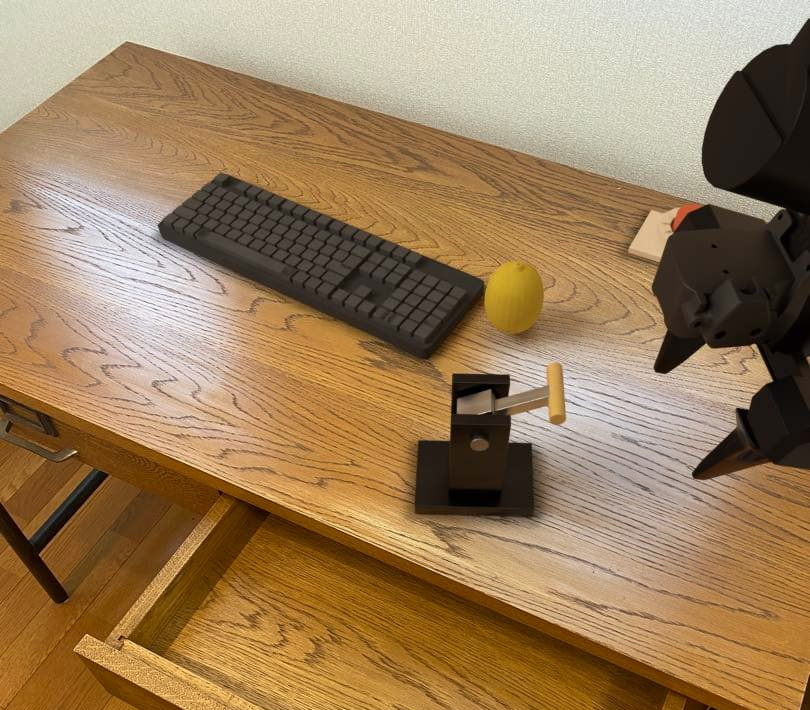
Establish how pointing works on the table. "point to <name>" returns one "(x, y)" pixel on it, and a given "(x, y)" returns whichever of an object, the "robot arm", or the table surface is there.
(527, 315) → the lemon
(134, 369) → the table surface
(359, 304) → the keyboard
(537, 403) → the lever
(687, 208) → the button
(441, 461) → the black upright frame
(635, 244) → the beige button base
